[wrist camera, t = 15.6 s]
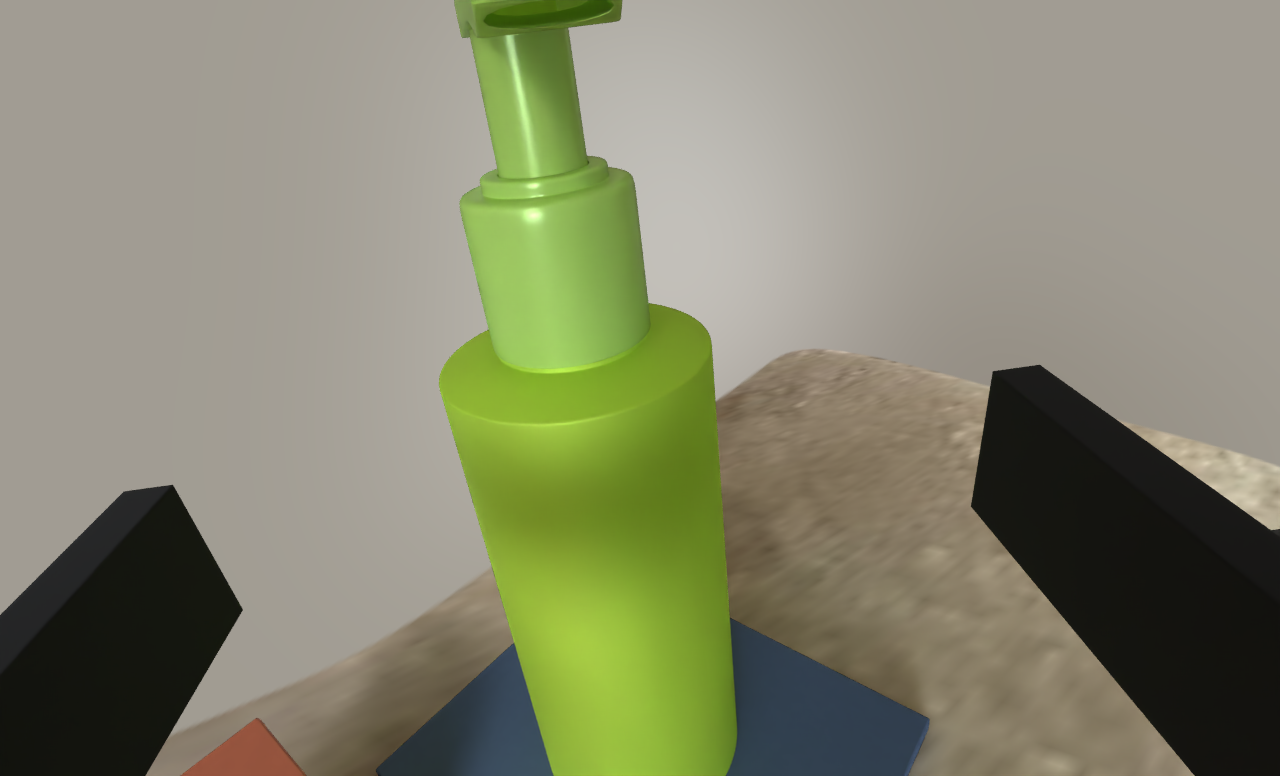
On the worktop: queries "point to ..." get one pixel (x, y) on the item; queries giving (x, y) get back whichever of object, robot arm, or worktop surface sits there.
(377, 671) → the worktop surface
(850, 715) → the slate mat
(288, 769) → the terracotta block
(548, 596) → the soap dispenser
